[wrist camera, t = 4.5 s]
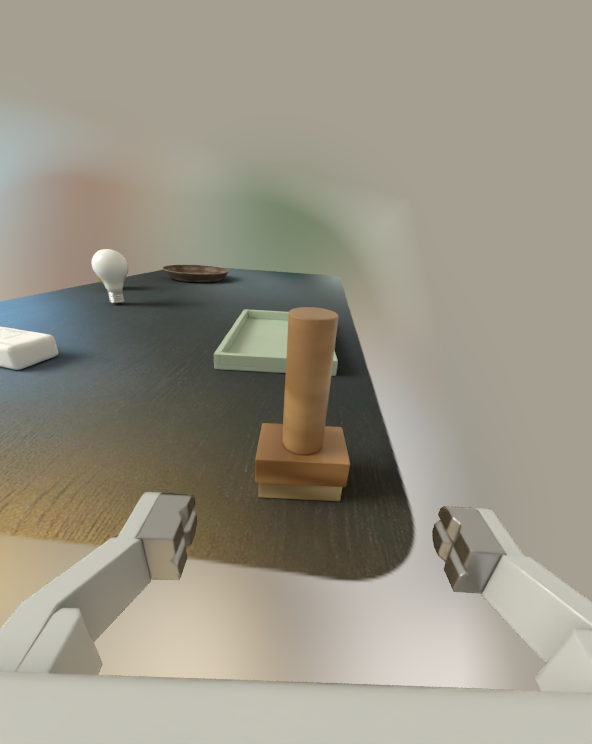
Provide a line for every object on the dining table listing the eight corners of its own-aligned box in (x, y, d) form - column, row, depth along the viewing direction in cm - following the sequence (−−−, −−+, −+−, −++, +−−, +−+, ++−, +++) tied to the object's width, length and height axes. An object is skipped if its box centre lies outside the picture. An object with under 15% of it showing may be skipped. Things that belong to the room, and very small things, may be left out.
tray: (322, 324, 60) (323, 314, 59) (336, 376, 39) (338, 361, 38) (244, 319, 60) (244, 309, 59) (214, 369, 39) (213, 353, 38)
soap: (-41, 360, 36) (-52, 336, 35) (8, 346, 41) (0, 324, 40) (17, 372, 35) (8, 347, 33) (62, 355, 40) (55, 333, 38)
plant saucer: (238, 277, 108) (238, 268, 107) (209, 286, 90) (208, 274, 89) (187, 272, 113) (186, 263, 111) (149, 279, 94) (147, 268, 93)
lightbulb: (118, 308, 62) (107, 251, 57) (92, 305, 63) (80, 248, 58) (140, 302, 67) (132, 249, 63) (116, 299, 68) (106, 247, 64)
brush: (336, 463, 24) (360, 307, 19) (343, 504, 21) (374, 326, 15) (261, 459, 24) (263, 301, 19) (255, 499, 20) (255, 319, 15)
